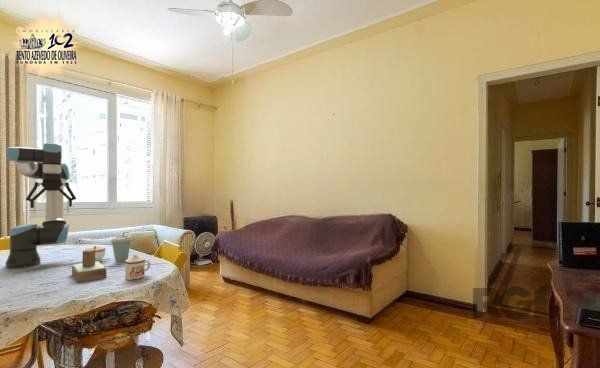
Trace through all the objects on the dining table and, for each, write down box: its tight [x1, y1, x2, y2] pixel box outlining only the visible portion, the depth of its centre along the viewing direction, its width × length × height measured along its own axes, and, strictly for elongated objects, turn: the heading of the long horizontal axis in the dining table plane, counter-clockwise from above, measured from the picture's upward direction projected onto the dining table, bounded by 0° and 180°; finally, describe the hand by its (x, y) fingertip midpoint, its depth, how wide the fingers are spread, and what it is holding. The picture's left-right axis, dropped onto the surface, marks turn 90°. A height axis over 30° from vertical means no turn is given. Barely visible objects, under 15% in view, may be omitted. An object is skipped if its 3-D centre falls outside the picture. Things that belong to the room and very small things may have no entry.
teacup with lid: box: [124, 254, 151, 281], centre depth 155 cm, size 12×9×12 cm
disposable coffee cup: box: [110, 235, 132, 263], centre depth 187 cm, size 11×11×15 cm
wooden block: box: [82, 250, 95, 267], centre depth 157 cm, size 4×4×8 cm
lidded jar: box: [83, 245, 106, 263], centre depth 186 cm, size 11×11×9 cm
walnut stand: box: [71, 261, 107, 283], centre depth 157 cm, size 18×12×5 cm, turn 43°
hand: (51, 213), depth 159 cm, fingers open, 13 cm apart
